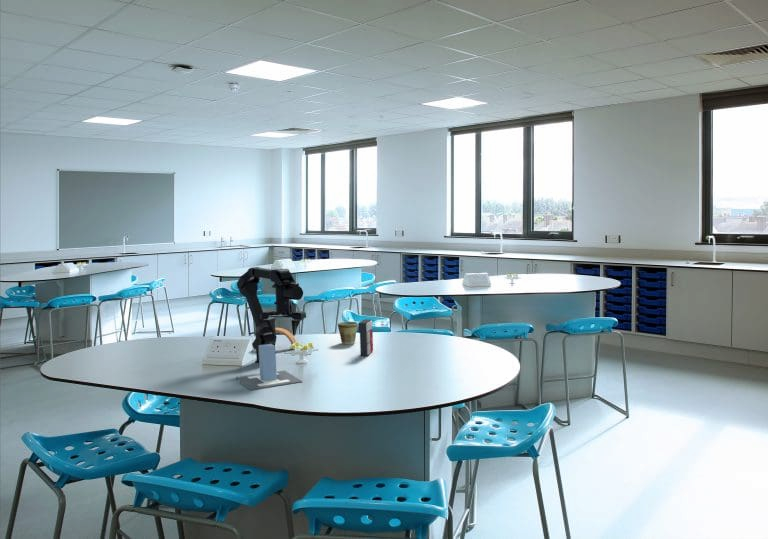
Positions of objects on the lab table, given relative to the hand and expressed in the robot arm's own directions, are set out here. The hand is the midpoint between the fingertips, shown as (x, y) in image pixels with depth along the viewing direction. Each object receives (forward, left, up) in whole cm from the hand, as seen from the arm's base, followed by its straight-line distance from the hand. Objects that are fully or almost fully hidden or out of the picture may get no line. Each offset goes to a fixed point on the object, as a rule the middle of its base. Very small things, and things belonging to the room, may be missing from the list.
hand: (284, 335), depth 253 cm
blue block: (+4, -23, -13) cm, 27 cm away
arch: (-21, +32, -13) cm, 40 cm away
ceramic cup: (+10, +51, -13) cm, 54 cm away
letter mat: (+4, -23, -13) cm, 27 cm away
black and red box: (+27, +28, -13) cm, 41 cm away
